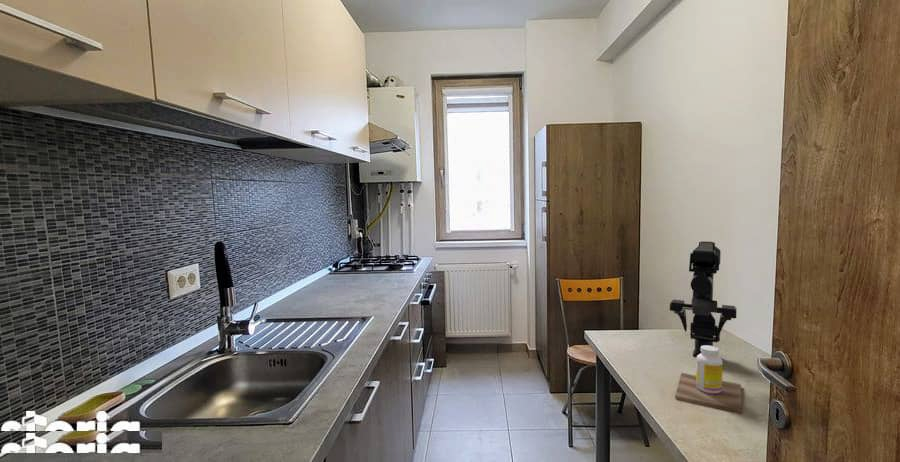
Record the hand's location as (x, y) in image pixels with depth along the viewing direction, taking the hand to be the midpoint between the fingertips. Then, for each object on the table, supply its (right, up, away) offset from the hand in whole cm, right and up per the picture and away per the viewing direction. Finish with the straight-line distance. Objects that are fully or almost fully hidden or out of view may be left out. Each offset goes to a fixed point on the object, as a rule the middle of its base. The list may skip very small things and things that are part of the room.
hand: (701, 333), depth 138 cm
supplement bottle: (-6, -14, -14) cm, 20 cm away
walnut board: (-6, -14, -14) cm, 21 cm away
